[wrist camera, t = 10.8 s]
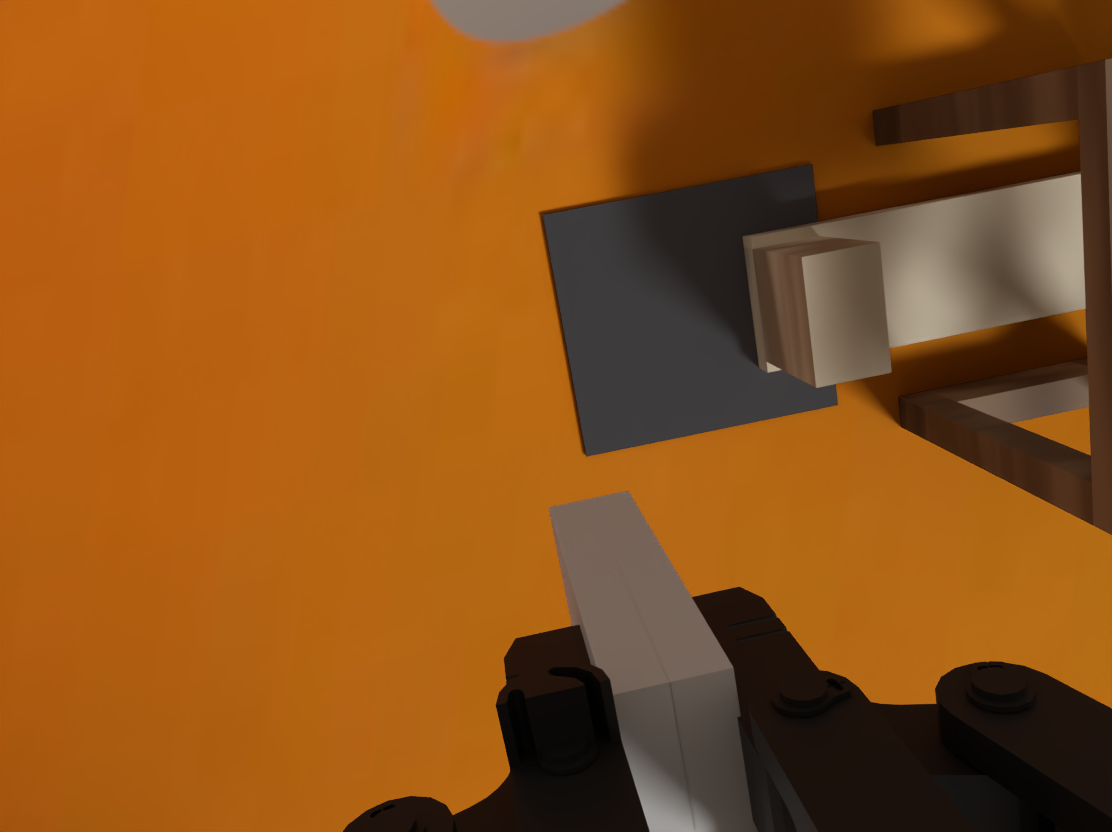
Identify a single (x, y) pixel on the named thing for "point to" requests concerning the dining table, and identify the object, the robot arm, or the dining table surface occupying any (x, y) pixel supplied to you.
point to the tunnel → (1108, 243)
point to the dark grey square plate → (673, 310)
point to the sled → (913, 276)
